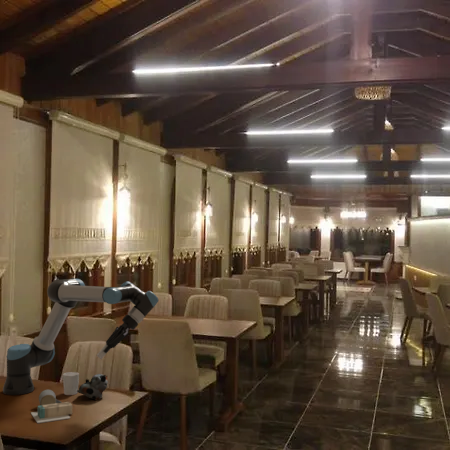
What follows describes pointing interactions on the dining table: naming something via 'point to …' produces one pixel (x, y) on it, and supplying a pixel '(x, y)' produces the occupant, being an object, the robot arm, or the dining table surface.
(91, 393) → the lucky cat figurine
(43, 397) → the ceramic mug
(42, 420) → the grey mat
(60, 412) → the beige long block
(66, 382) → the white cup
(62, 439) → the dining table surface
